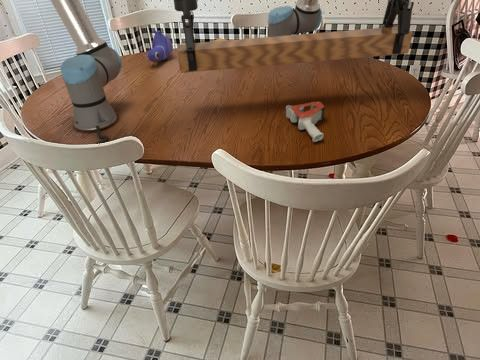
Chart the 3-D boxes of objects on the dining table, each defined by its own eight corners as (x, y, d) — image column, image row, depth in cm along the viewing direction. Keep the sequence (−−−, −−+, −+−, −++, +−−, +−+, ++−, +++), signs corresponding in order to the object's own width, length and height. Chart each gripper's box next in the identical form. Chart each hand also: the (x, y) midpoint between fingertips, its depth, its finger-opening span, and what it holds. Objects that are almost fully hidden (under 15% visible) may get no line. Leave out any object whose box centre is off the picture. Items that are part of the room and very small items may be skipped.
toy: (161, 62, 200) (141, 68, 178) (157, 30, 193) (135, 32, 171) (177, 61, 198) (159, 67, 176) (173, 29, 191) (154, 30, 169)
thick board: (180, 73, 125) (176, 51, 120) (181, 65, 131) (178, 44, 127) (408, 53, 128) (413, 31, 124) (397, 46, 135) (401, 26, 131)
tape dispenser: (318, 148, 112) (340, 119, 125) (320, 134, 109) (342, 106, 122) (269, 134, 120) (295, 107, 132) (269, 120, 116) (295, 94, 129)
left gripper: (196, 1, 106) (204, 75, 120) (196, -10, 123) (203, 56, 137) (171, 3, 106) (181, 77, 119) (174, -9, 123) (183, 57, 136)
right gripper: (432, -17, 109) (414, 57, 123) (401, -25, 126) (388, 41, 140) (408, -15, 109) (393, 59, 122) (380, -24, 126) (369, 42, 139)
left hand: (193, 66), depth 128 cm, fingers closed on thick board, 8 cm apart
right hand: (390, 49), depth 131 cm, fingers closed on thick board, 8 cm apart
